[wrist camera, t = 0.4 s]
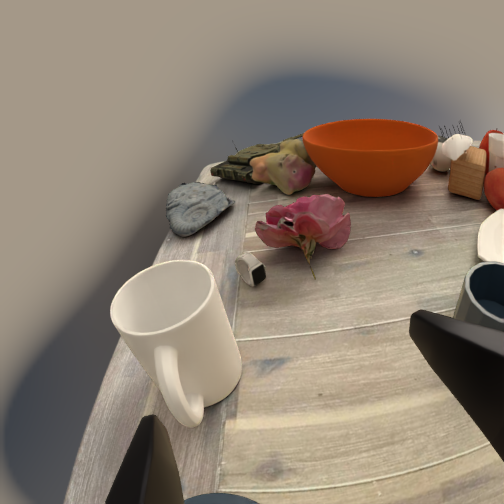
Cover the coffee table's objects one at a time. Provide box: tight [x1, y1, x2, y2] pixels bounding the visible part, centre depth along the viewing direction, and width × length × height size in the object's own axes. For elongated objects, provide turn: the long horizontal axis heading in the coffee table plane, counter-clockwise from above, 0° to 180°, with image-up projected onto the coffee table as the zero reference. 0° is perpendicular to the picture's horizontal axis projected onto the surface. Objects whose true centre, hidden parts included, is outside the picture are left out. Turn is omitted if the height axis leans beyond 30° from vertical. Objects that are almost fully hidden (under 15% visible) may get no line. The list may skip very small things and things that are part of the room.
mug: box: [110, 260, 242, 428], centre depth 23 cm, size 12×8×10 cm
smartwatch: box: [235, 252, 266, 286], centre depth 36 cm, size 4×2×4 cm, turn 41°
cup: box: [489, 133, 504, 172], centre depth 41 cm, size 7×7×11 cm
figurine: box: [430, 142, 451, 171], centre depth 54 cm, size 8×6×7 cm
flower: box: [255, 194, 351, 279], centre depth 38 cm, size 11×10×10 cm
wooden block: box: [448, 146, 486, 200], centre depth 48 cm, size 7×7×20 cm
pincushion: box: [442, 134, 473, 161], centre depth 42 cm, size 12×6×6 cm, turn 136°
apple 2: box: [484, 166, 504, 210], centre depth 38 cm, size 7×7×8 cm
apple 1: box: [479, 130, 503, 174], centre depth 47 cm, size 8×8×11 cm
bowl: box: [303, 119, 438, 197], centre depth 52 cm, size 25×25×10 cm
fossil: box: [166, 182, 235, 237], centre depth 56 cm, size 13×18×4 cm
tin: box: [453, 261, 504, 331], centre depth 22 cm, size 9×9×5 cm
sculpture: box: [250, 139, 316, 195], centre depth 58 cm, size 15×8×10 cm
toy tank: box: [210, 133, 304, 184], centre depth 70 cm, size 14×28×10 cm, turn 133°
